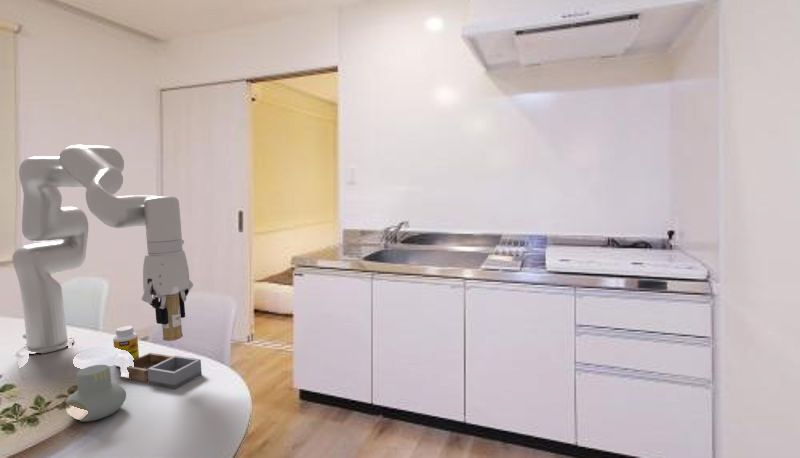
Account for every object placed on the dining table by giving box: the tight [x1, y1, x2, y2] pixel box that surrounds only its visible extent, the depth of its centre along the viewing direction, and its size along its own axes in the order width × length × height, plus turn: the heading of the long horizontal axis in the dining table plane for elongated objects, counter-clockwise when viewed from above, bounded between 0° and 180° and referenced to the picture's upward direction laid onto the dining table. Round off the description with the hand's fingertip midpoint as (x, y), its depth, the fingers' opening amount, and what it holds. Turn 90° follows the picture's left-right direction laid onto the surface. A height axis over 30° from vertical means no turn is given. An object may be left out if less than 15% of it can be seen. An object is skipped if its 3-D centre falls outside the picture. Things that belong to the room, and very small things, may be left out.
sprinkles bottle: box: [161, 287, 184, 342], centre depth 109 cm, size 5×5×13 cm
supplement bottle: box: [113, 325, 140, 360], centre depth 120 cm, size 6×6×10 cm
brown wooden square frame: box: [127, 352, 173, 383], centre depth 116 cm, size 9×9×3 cm
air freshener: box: [65, 364, 127, 423], centre depth 95 cm, size 11×8×10 cm
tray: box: [147, 355, 203, 390], centre depth 111 cm, size 8×8×4 cm
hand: (171, 319), depth 110 cm, fingers closed on sprinkles bottle, 4 cm apart
